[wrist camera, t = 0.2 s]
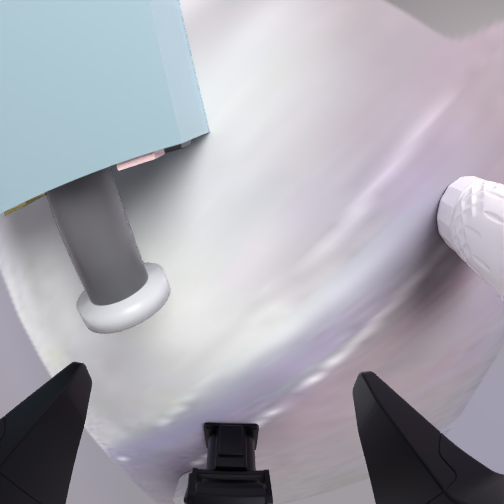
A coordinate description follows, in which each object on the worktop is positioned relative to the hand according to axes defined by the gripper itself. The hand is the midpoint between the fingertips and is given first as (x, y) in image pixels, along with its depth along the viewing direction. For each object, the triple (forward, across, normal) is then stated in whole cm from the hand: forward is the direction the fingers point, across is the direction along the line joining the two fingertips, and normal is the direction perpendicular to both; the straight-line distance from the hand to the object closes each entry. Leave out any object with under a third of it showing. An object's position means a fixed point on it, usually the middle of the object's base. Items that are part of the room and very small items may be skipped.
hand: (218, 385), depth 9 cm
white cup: (+15, -20, -2) cm, 25 cm away
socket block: (+15, +10, -10) cm, 21 cm away
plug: (+12, +8, -3) cm, 15 cm away
